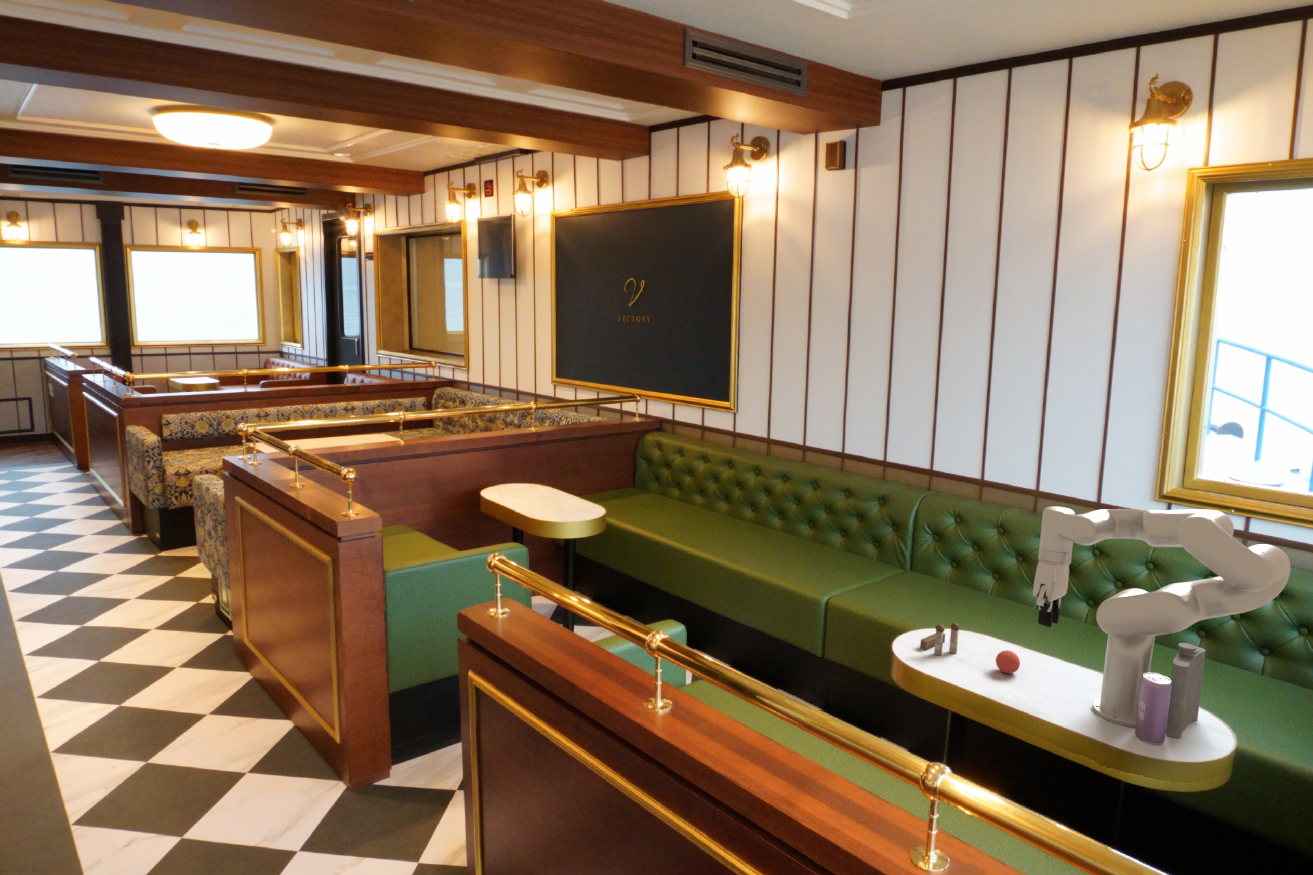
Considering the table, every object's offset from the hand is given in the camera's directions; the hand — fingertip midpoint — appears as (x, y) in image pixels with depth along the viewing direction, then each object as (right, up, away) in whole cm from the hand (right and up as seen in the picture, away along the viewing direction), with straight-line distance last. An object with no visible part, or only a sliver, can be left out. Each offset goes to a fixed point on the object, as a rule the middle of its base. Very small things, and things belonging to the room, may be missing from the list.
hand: (1048, 622), depth 211 cm
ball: (-6, -13, +9) cm, 17 cm away
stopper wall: (-21, -13, +27) cm, 36 cm away
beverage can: (+12, -22, -23) cm, 34 cm away
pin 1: (-21, -14, +21) cm, 33 cm away
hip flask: (+23, -21, -17) cm, 35 cm away
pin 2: (-17, -14, +22) cm, 31 cm away
